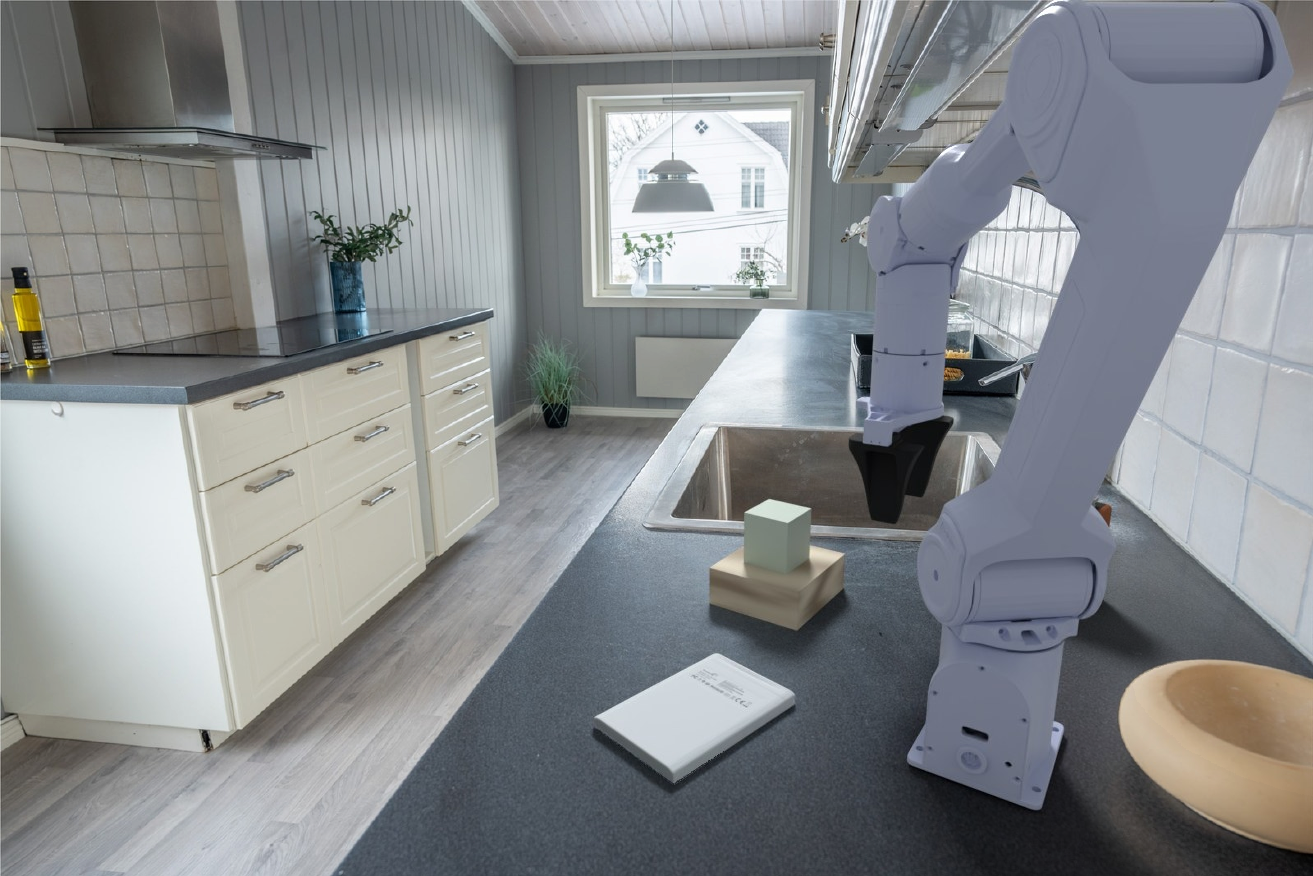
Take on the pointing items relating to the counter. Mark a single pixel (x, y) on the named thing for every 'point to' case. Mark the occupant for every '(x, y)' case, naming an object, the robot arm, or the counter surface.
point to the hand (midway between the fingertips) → (898, 507)
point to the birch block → (777, 587)
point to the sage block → (777, 536)
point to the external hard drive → (695, 714)
